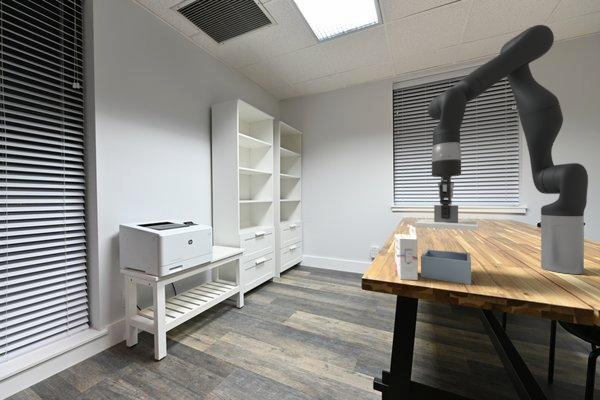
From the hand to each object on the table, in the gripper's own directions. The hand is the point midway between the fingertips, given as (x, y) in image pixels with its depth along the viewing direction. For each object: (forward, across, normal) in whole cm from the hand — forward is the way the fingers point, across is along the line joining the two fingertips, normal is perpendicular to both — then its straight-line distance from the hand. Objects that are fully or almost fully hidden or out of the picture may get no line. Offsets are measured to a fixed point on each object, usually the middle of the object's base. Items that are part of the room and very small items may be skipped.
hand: (446, 218), depth 73 cm
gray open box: (+17, 0, 0) cm, 17 cm away
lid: (+2, 0, 0) cm, 2 cm away
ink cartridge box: (+17, -7, +10) cm, 21 cm away
